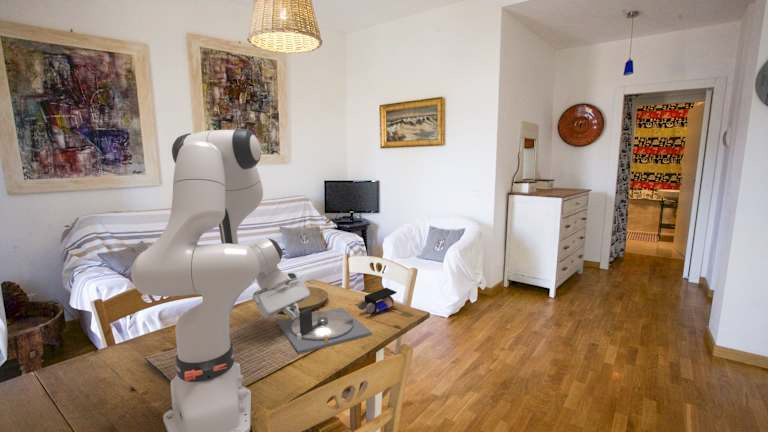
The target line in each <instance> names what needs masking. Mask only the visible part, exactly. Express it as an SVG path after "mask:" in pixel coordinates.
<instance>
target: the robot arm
mask: <svg viewBox="0 0 768 432" xmlns="http://www.w3.org/2000/svg"><path fill="white" fill-rule="evenodd" d="M261 149H262V148H261V145H260V142H259V139H258V137H257V135H256V134H255V133H254V132H253V131H251V130H250V129H246V128H236V129H216V130H215V129H210V130H204V131H203V130H202V131H198V132H194V133H190V132H189V133H185V134H182V135H180V136H178V137H177V138H176V139H175V140H174V141H173V143H172V146H171V156H172V159H173V162H174V163H175V165H174V171H173V180H172V197H171V198H172V199H171V200H172V201H171V209H170V214H169V215H170V216H169V219H168V222H167V225H165V228H164V230H163V232H162V233H161V235H160V236H159V238H157V239H156V241H155V242H154V243H153V244H151V245H150V246H149V247H148V248H147V249H145V250H143V251H142V252H140V253H139V255H137V257H136V258H135V259H134V261H133V264H132V267H131V273H130V276H131V281H132V284H133V286H134V287H135V289H137V291H138V292H139V293H140V294H142V295H147V296H153V297H165V298H167V297H178V296H190V295H198V296H199V295H200V296H201V298H202V301H201V303H200V304H198V305H195V306H194V307H191V308H190V309H188V310H187V311H185V312H184V313H183V314H182V315H180V316H179V318H178V319H177V321H176V323H175V328H174V329H175V342H176V353H177V354H176V356H175V368H176V375H175V376H174V378H173V379H172V380H171V381H170V392H171V406H170V409H169V410H168V411H166V412H165V413H164V414H163V416H162V421H163V424H164V427H165V428H166V431H167V432H250V431H251V422H252V421H251V419H252V417H251V416H252V414H251V413H252V393H251V390H250V389H248V388H247V387H246V386H243V385H242V381H243V382H244V374H241V364H240V363H238V362H236V361H235V358H234V357H235V356H234V355H235V353H234V352H235V351H234V348H233V343H231V316H232V315H231V314H232V311H233V307H234V306H235V304H236V302H237V300H238V299H239V297H240V296H241V295H242V293H244V292H245V291H246V290H247V289H248V288H250V287H251V286H252V285H253V284H254V282H255V281H256V282H257V285H258V287H259V290H256V291H254V293H253V294H252V300H253V302H254V303H255V305H256V307H257V310H258V312H259V314H260V315H261V316H262V317H263V318H264V319H268V318H271V317H272V316H274V315H276V314H278V313H283V314H284V315H287V316H288V317H290V318H291V319H292V320H294V319H296V318H298V317H300V316H299V313H300V312H299V311H298V303H300V302H302V301H305V300H306V299H307V298H308V297H309V296H310V291H309V290H308V288H307V287H308V286H307V285H306V284H305V283H304V281H302V280H301V279H300V278H299V275H298V274H297V273H296V272H285V271H284V272H283V271H282V269H280V268H279V267H278V265H279V264H280V263H281V261H282V258H283V254H284V252H283V249H282V248H281V246H280V244H279V243H278V242H277V241H276V240H274V239H272V238H267V237H266V238H263V239H261V240H258V241H256V242H254V243H249V244H248V245H245V244H244V245H243V244H239V239H238V238H239V237H238V229H239V227H240V226H241V224H242V222H244V220H245V219H246V218H247V217H249V216H250V214H252V213H253V212H255V210H256V209H257V208H258V207H259V206H260V204H261V202H262V201H263V198H264V190H263V184H262V181H261V177H260V174H259V171H258V168H257V164H258V163H259V162H260V160H261V157H262V156H261V155H262V153H261ZM216 227H218V228H219V229H218V230H219V235H220V240H221V243H211V244H210V243H209V244H198V243H199V240H200V238H201V237H203V235H204V234H205V233H207V232H209V231H210V230H213V229H215V228H216ZM290 307H291V309H294V312H292V311H291V310H289V309H290ZM281 311H283V312H281Z"/></svg>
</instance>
